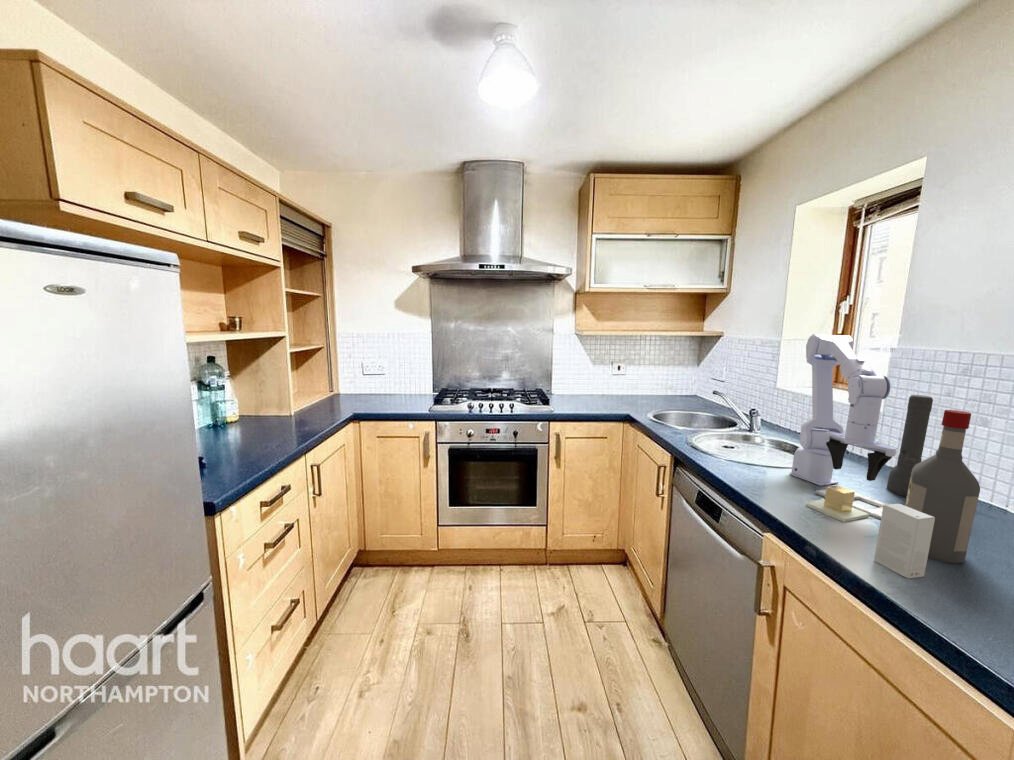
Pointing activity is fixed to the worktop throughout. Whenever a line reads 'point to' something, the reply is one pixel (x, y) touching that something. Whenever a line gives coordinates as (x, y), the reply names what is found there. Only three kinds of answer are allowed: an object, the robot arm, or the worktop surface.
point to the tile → (842, 516)
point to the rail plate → (872, 512)
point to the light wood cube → (839, 498)
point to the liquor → (947, 491)
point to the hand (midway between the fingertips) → (853, 474)
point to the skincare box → (904, 540)
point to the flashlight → (910, 443)
